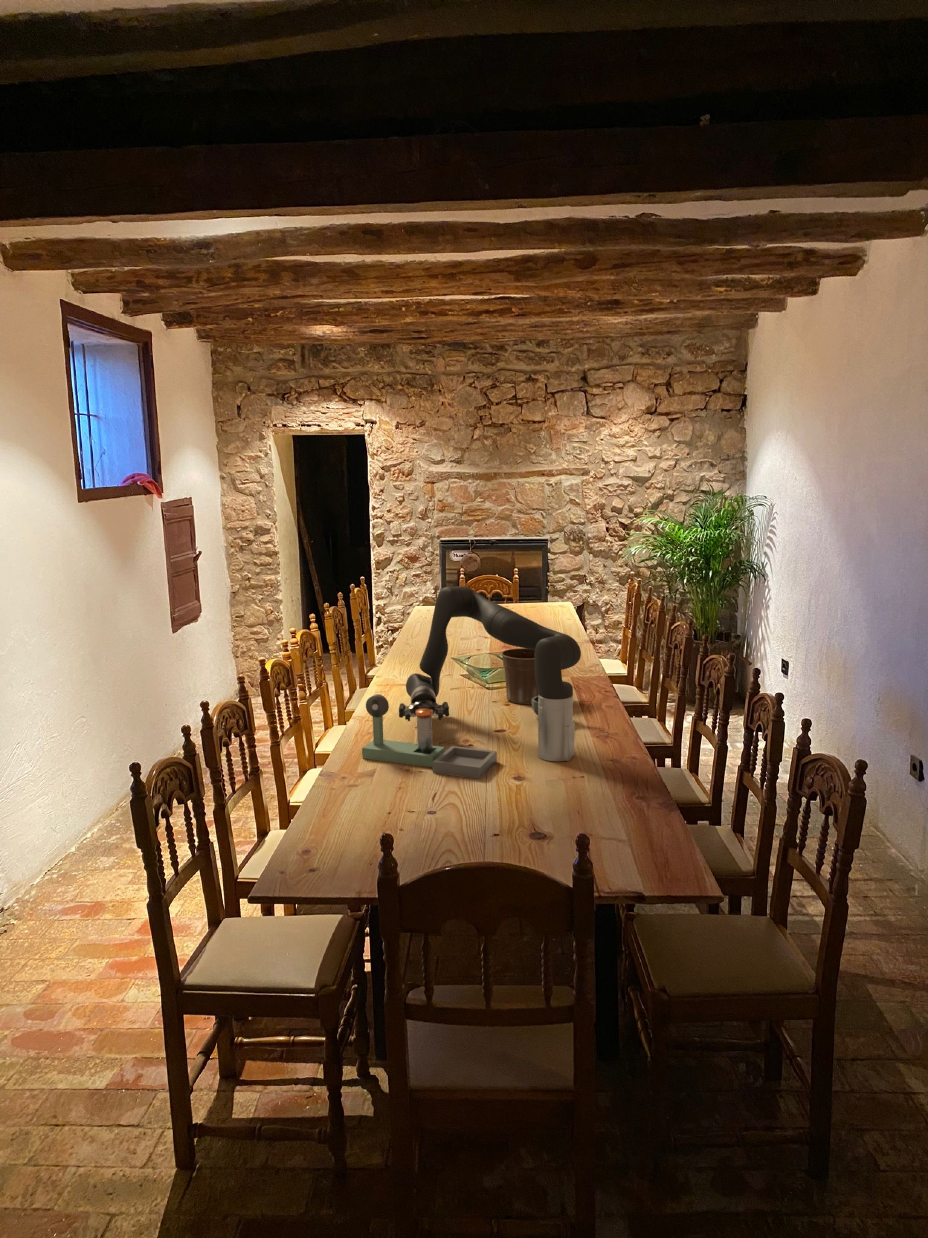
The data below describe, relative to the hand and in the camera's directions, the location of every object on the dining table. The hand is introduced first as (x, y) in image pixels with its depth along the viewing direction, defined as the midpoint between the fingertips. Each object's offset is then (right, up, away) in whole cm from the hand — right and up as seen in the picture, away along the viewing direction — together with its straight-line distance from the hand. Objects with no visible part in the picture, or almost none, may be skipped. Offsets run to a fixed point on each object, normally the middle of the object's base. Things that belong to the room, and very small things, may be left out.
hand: (424, 717), depth 236 cm
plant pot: (+32, 0, +50) cm, 59 cm away
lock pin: (+1, -11, -7) cm, 13 cm away
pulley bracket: (-5, -11, -4) cm, 13 cm away
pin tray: (+11, -12, -12) cm, 20 cm away
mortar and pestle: (+37, -4, +26) cm, 46 cm away
